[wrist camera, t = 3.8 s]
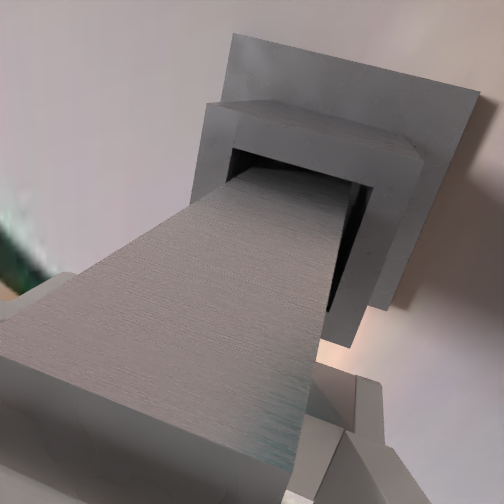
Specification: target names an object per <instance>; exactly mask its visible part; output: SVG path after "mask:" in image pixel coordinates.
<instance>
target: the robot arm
mask: <svg viewBox="0 0 504 504" xmlns="http://www.w3.org/2000/svg"><path fill="white" fill-rule="evenodd" d="M76 276H77V275H76V274H74V273H71V272H61V273H60V274H58V275H56V276H54V277H52V278H51V279H49V280H47V281H45V282H44V283H42V284H40V285H38V286H37V287H35V288H33V289H31V290H30V291H28V292H26V293H24V294H23V295H21V296H19V297H17V298H16V299H14V300H12V301H10V302H8V301H5V300H0V323H1V322H3V321H5V320H6V319H8V318H10V317H11V316H13V315H14V314H16V313H18V312H19V311H21V310H22V309H24V308H26V307H27V306H29V305H30V304H32V303H34V302H35V301H37V300H38V299H40V298H42V297H43V296H45V295H47V294H48V293H50V292H51V291H53V290H55V289H56V288H58V287H59V286H61V285H63V284H64V283H66V282H67V281H69V280H71V279H72V278H74V277H76ZM286 489H287V490H289V491H291V492H294V493H296V494H298V495H300V496H303V497H305V498H307V499H309V500H312V501H314V503H313V504H431V502H430V501H429V499H428V498H427V497H426V495H425V494H424V492H423V491H422V489H421V488H420V487H419V485H418V484H417V482H416V481H415V479H414V478H413V476H412V475H411V474H410V472H409V471H408V469H407V468H406V466H405V465H404V464H403V462H402V461H401V459H400V458H399V456H398V455H397V454H396V452H395V451H394V449H393V448H391V447H388V446H386V445H385V437H384V416H383V394H382V385H381V384H380V383H379V382H376V381H373V380H370V379H367V378H364V377H361V376H358V375H353V374H350V373H347V372H344V371H341V370H338V369H335V368H332V367H329V366H327V365H324V364H321V363H318V362H315V365H314V370H313V375H312V380H311V385H310V390H309V395H308V399H307V404H306V409H305V414H304V419H303V424H302V428H301V433H300V438H299V443H298V448H297V453H296V457H295V462H294V467H293V472H292V475H291V478H290V480H289V483H288V486H287V488H286ZM0 504H88V503H85V502H83V501H81V500H79V499H76V498H74V497H72V496H70V495H68V494H65V493H63V492H61V491H59V490H57V489H54V488H52V487H50V486H48V485H46V484H43V483H41V482H39V481H37V480H35V479H32V478H30V477H28V476H26V475H24V474H21V473H19V472H17V471H15V470H12V469H10V468H8V467H6V466H4V465H1V464H0Z"/></svg>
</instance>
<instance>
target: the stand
mask: <svg viewBox="0 0 504 504" xmlns="http://www.w3.org/2000/svg"><path fill="white" fill-rule="evenodd" d="M479 94H480V92H479V91H475V90H471V89H467V88H462V87H458V86H454V85H450V84H446V83H441V82H437V81H433V80H429V79H425V78H420V77H416V76H412V75H408V74H404V73H399V72H395V71H391V70H387V69H383V68H378V67H374V66H370V65H366V64H362V63H357V62H353V61H349V60H345V59H341V58H337V57H332V56H328V55H324V54H320V53H316V52H311V51H307V50H303V49H299V48H295V47H290V46H286V45H282V44H278V43H274V42H269V41H265V40H261V39H257V38H253V37H248V36H244V35H240V34H236V33H233V37H232V42H231V48H230V53H229V59H228V64H227V70H226V75H225V81H224V86H223V91H222V97H221V102H218V103H207V106H206V111H205V117H204V123H203V129H202V135H201V141H200V147H199V153H198V158H197V164H196V170H195V176H194V182H193V188H192V194H191V200H190V205H191V204H193V203H195V202H196V201H198V200H199V199H201V198H203V197H204V196H206V195H207V194H209V193H211V192H212V191H214V190H216V189H217V188H219V187H220V186H222V185H224V184H225V183H227V182H228V181H230V180H232V179H233V178H235V177H236V176H238V175H240V174H241V173H243V172H245V171H246V170H248V169H249V168H251V167H253V166H254V165H256V164H257V163H259V162H261V161H262V160H264V159H265V158H267V157H268V158H272V159H275V160H279V161H282V162H286V163H289V164H293V165H296V166H300V167H303V168H307V169H310V170H314V171H317V172H321V173H324V174H328V175H331V176H335V177H338V178H342V179H345V180H349V181H352V186H351V191H350V196H349V201H348V206H347V210H346V215H345V220H344V225H343V230H342V235H341V240H340V244H339V249H338V254H337V259H336V264H335V269H334V273H333V278H332V283H331V288H330V293H329V298H328V303H327V307H326V312H325V317H324V322H323V327H322V332H321V336H320V338H321V339H324V340H327V341H329V342H332V343H335V344H338V345H341V346H344V347H347V348H350V347H351V345H352V342H353V340H354V337H355V335H356V332H357V330H358V327H359V325H360V322H361V320H362V317H363V315H364V312H365V310H366V307H367V305H369V306H372V307H375V308H378V309H381V310H384V311H387V310H388V307H389V305H390V303H391V300H392V298H393V296H394V293H395V291H396V289H397V286H398V284H399V282H400V279H401V277H402V275H403V272H404V270H405V268H406V265H407V263H408V261H409V258H410V256H411V254H412V251H413V249H414V247H415V244H416V242H417V240H418V237H419V235H420V232H421V230H422V228H423V225H424V223H425V221H426V218H427V216H428V214H429V211H430V209H431V207H432V204H433V202H434V200H435V197H436V195H437V193H438V190H439V188H440V186H441V183H442V181H443V179H444V176H445V174H446V172H447V169H448V167H449V165H450V162H451V160H452V158H453V155H454V153H455V151H456V148H457V146H458V144H459V141H460V139H461V137H462V134H463V132H464V130H465V127H466V125H467V122H468V120H469V118H470V115H471V113H472V111H473V108H474V106H475V104H476V101H477V99H478V97H479Z"/></svg>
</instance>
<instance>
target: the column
mask: <svg viewBox="0 0 504 504" xmlns="http://www.w3.org/2000/svg"><path fill="white" fill-rule="evenodd" d="M351 186H352V181H349V180H345V179H342V178H338V177H335V176H331V175H328V174H324V173H321V172H317V171H314V170H310V169H307V168H303V167H300V166H296V165H293V164H289V163H286V162H282V161H279V160H275V159H272V158H268V157H267V158H265V159H264V160H262V161H261V162H259V163H257V164H256V165H254V166H253V167H251V168H249V169H248V170H246V171H245V172H243V173H241V174H240V175H238V176H236V177H235V178H233V179H232V180H230V181H228V182H227V183H225V184H224V185H222V186H220V187H219V188H217V189H216V190H214V191H212V192H211V193H209V194H207V195H206V196H204V197H203V198H201V199H199V200H198V201H196V202H195V203H193V204H191V205H190V206H188V207H187V208H185V209H183V210H182V211H180V212H179V213H177V214H175V215H174V216H172V217H170V218H169V219H167V220H166V221H164V222H162V223H161V224H159V225H158V226H156V227H154V228H153V229H151V230H150V231H148V232H146V233H145V234H143V235H141V236H140V237H138V238H137V239H135V240H133V241H132V242H130V243H129V244H127V245H125V246H124V247H122V248H121V249H119V250H117V251H116V252H114V253H113V254H111V255H109V256H108V257H106V258H104V259H103V260H101V261H100V262H98V263H96V264H95V265H93V266H92V267H90V268H88V269H87V270H85V271H84V272H82V273H80V274H79V275H77V276H76V277H74V278H72V279H71V280H69V281H67V282H66V283H64V284H63V285H61V286H59V287H58V288H56V289H55V290H53V291H51V292H50V293H48V294H47V295H45V296H43V297H42V298H40V299H38V300H37V301H35V302H34V303H32V304H30V305H29V306H27V307H26V308H24V309H22V310H21V311H19V312H18V313H16V314H14V315H13V316H11V317H10V318H8V319H6V320H5V321H3V322H1V323H0V464H1V465H4V466H6V467H8V468H10V469H12V470H15V471H17V472H19V473H21V474H24V475H26V476H28V477H30V478H32V479H35V480H37V481H39V482H41V483H43V484H46V485H48V486H50V487H52V488H54V489H57V490H59V491H61V492H63V493H65V494H68V495H70V496H72V497H74V498H76V499H79V500H81V501H83V502H85V503H88V504H281V501H282V498H283V496H284V493H285V491H286V488H287V486H288V483H289V480H290V478H291V475H292V472H293V467H294V462H295V457H296V453H297V448H298V443H299V438H300V433H301V428H302V424H303V419H304V414H305V409H306V404H307V399H308V395H309V390H310V385H311V380H312V375H313V370H314V365H315V361H316V356H317V351H318V346H319V341H320V336H321V332H322V327H323V322H324V317H325V312H326V307H327V303H328V298H329V293H330V288H331V283H332V278H333V273H334V269H335V264H336V259H337V254H338V249H339V244H340V240H341V235H342V230H343V225H344V220H345V215H346V210H347V206H348V201H349V196H350V191H351Z"/></svg>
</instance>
